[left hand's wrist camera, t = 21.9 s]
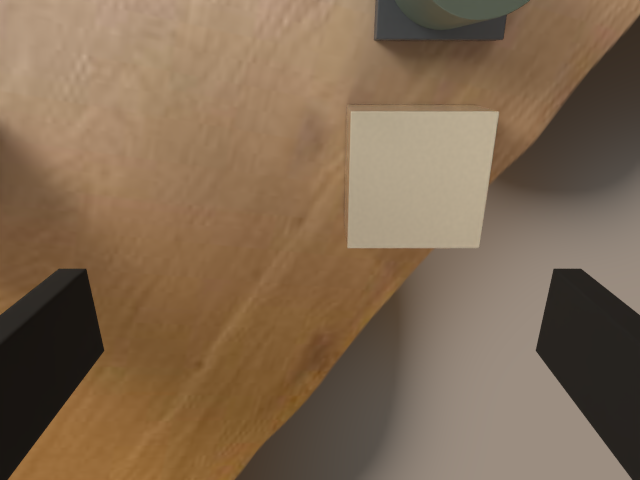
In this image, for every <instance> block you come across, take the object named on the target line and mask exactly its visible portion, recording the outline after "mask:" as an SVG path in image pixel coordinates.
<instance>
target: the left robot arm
mask: <svg viewBox="0 0 640 480" xmlns="http://www.w3.org/2000/svg"><path fill="white" fill-rule="evenodd" d="M103 352H104V347H103V343H102V338H101V334H100V329H99V325H98V320H97V316H96V311H95V306H94V302H93V297H92V293H91V288H90V284H89V279H88V274H87V270H86V269H58V270H57V271H56V272H54V273H53V274H52V275H50V276H49V277H48V278H47V279H45V280H44V281H43V282H42V283H40V284H39V285H38V286H37V287H35V288H34V289H33V290H32V291H30V292H29V293H28V294H26V295H25V296H24V297H23V298H21V299H20V300H19V301H18V302H16V303H15V304H14V305H13V306H11V307H10V308H9V309H7V310H6V311H5V312H4V313H2V314H1V315H0V480H8V478H9V477H10V476H11V474H12V473H13V472H14V470H15V469H16V468H17V466H18V465H19V464H20V462H21V461H22V460H23V458H24V457H25V456H26V454H27V453H28V452H29V450H30V449H31V448H32V446H33V445H34V444H35V442H36V441H37V440H38V438H39V437H40V436H41V434H42V433H43V432H44V430H45V429H46V428H47V426H48V425H49V424H50V422H51V421H52V420H53V418H54V417H55V416H56V414H57V413H58V412H59V410H60V409H61V408H62V406H63V405H64V404H65V402H66V401H67V400H68V398H69V397H70V396H71V394H72V393H73V392H74V390H75V389H76V388H77V386H78V385H79V384H80V382H81V381H82V380H83V378H84V377H85V376H86V374H87V373H88V372H89V370H90V369H91V368H92V366H93V365H94V364H95V362H96V361H97V360H98V358H99V357H100V356H101V354H102V353H103ZM536 352H537V353H538V354H539V356H540V357H541V358H542V360H543V361H544V362H545V364H546V365H547V366H548V368H549V369H550V370H551V372H552V373H553V374H554V376H555V377H556V378H557V380H558V381H559V382H560V384H561V385H562V386H563V388H564V389H565V390H566V392H567V393H568V394H569V396H570V397H571V398H572V400H573V401H574V402H575V404H576V405H577V406H578V408H579V409H580V410H581V412H582V413H583V414H584V416H585V417H586V418H587V420H588V421H589V422H590V424H591V425H592V426H593V428H594V429H595V430H596V432H597V433H598V434H599V436H600V437H601V438H602V440H603V441H604V442H605V444H606V445H607V446H608V448H609V449H610V450H611V452H612V453H613V454H614V456H615V457H616V458H617V460H618V461H619V462H620V464H621V465H622V466H623V468H624V469H625V470H626V472H627V473H628V474H629V476H630V477H631V478H632V480H640V315H639V314H638V313H636V312H635V311H634V310H632V309H631V308H630V307H629V306H627V305H626V304H625V303H624V302H622V301H621V300H620V299H619V298H617V297H616V296H615V295H613V294H612V293H611V292H610V291H608V290H607V289H606V288H605V287H603V286H602V285H601V284H600V283H598V282H597V281H596V280H595V279H593V278H592V277H591V276H590V275H588V274H587V273H586V272H584V271H583V270H582V269H554V270H553V274H552V279H551V284H550V288H549V293H548V297H547V302H546V306H545V311H544V316H543V320H542V325H541V329H540V334H539V338H538V343H537V348H536Z"/></svg>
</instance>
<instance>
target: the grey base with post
mask: <svg viewBox="0 0 640 480" xmlns="http://www.w3.org/2000/svg"><path fill="white" fill-rule="evenodd" d="M528 1H530V0H376V5H375V29H374V40H502V39H503V38H504V30H505V23H506V16H507V14H509V13H511V12H513V11H515V10H517V9H518V8H520V7H521V6H523V5H524V4H526V3H527V2H528Z"/></svg>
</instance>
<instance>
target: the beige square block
mask: <svg viewBox="0 0 640 480" xmlns="http://www.w3.org/2000/svg"><path fill="white" fill-rule="evenodd" d="M498 117H499V111H495V110H491V109H488V108H484V107H481V106H477V105H347V117H346V163H345V208H344V228H345V235H346V241H347V247H348V248H479V246H480V239H481V233H482V226H483V219H484V212H485V205H486V199H487V192H488V185H489V178H490V172H491V165H492V158H493V151H494V145H495V138H496V131H497V124H498Z"/></svg>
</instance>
